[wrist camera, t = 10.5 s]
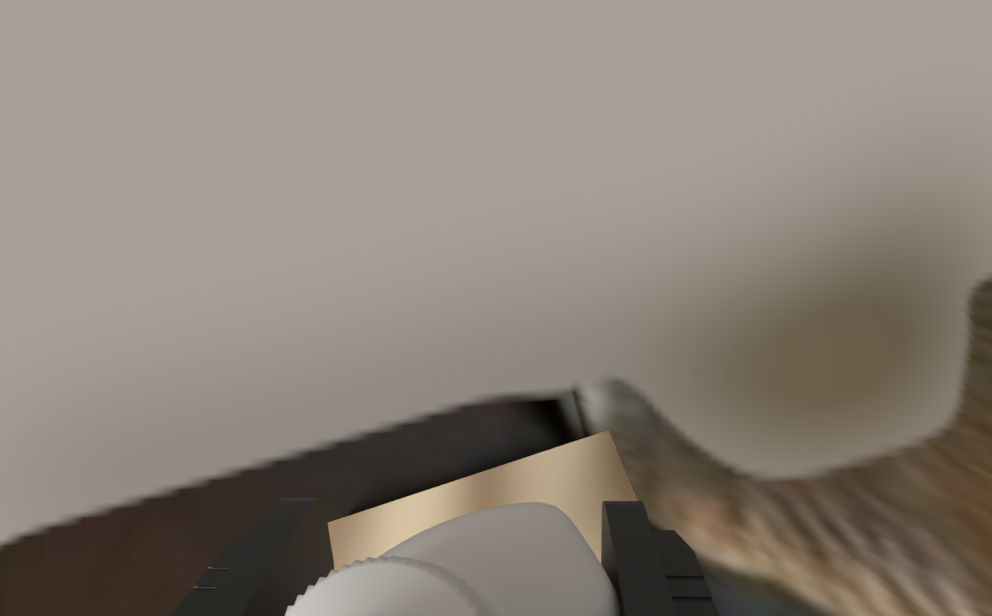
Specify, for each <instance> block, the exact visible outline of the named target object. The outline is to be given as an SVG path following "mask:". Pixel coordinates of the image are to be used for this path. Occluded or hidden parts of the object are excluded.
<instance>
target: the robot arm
mask: <svg viewBox="0 0 992 616" xmlns="http://www.w3.org/2000/svg"><path fill="white" fill-rule="evenodd" d="M601 565H602V567H603V568H604V570H605V572H606V573H607V575H608V577H609V579H610V580H611V582H612V584H613V586H614V587H615V589H616V591H617V595H618V598H619V603H620V609H621V616H719V614H718V611H717V609H716V606H715V604H714V603H713V601H712V596H711V593H710V591H709V588H708V586H707V583H706V581H704V576H703V573H702V570H701V568H700V565H699V563H698V560H697V558H696V555H695V553H694V551H693V550H692V549H691V548H690V547H689V546H688V545H687V543H686V542H685V541H684V540H683V539H682V538H681V537H680V536H679V535H678V534H677V533H676V532H675V531H674V530H651V527H650V523H649V520H648V517H647V513H646V510H645V507H644V504H643V502H642V501H603V502H602V529H601ZM331 570H334V559H333V553H332V547H331V541H330V535H329V529H328V523H327V517H326V511H325V506H324V503H323V501H322V500H321V499H319V498H283V499H280V500H279V501H278V502H277V503H276V505H275V506H274V507H273V509H272V510H271V511H270V513H269V514H268V515H267V517H266V518H265V520H264V521H263V522H262V524H261V525H251V526H250V527H248V528H247V529H246V530H244V531H243V532H242V533H240V534H239V535H238V536H236V537H235V538H234V539H233V540H231V541H230V542H229V543H227V544H226V545H225V546H224V548H223V549H222V550H221V552H220V553H219V554H218V555H217V557H216V558H215V559H214V560H213V562H212V563H211V564H210V566H209V569H208V571H205V572H204V573H203V574H202V576H201V577H200V578H199V580H198V581H197V582H196V583H195V585H194V589H193V591H189V592H188V594H187V595H186V596H185V597H184V599H183V600H182V601H181V603H180V604H179V605H178V606H177V608H176V609H175V610H174V611H173V613H172V614H171V615H170V616H285V613H286V610H287V607H288V606H294V604H295V601H296V599H297V596H298V595H304V594H305V592H306V590H307V588H308V586H309V585H316V583H317V581H318V579H319V577H327V576H328V574H329V573H330V571H331Z"/></svg>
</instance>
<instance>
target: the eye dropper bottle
mask: <svg viewBox="0 0 992 616" xmlns="http://www.w3.org/2000/svg"><path fill="white" fill-rule="evenodd" d="M285 616H621V609H620V603H619V598H618V595H617V591H616V589H615V587H614V586H613V584H612V582H611V580H610V579H609V577H608V575H607V573H606V572H605V570H604V568H603V567H602V565H601V564H600V562H599V560H598V559H597V557H596V556H595V554H594V552H593V551H592V549H591V548H590V546H589V545H588V543H587V542H586V540H585V539H584V537H583V536H582V534H581V533H580V531H579V530H578V529H577V527H576V526H575V525H574V523H573V522H572V520H571V519H570V518H569V517H568V516H567V515H566V514H565V513H563V512H562V511H561V510H560V509H559V508H557V507H556V506H554V505H550V504H545V503H541V502H527V503H515V504H509V505H502V506H497V507H493V508H488V509H484V510H480V511H476V512H473V513H469V514H466V515H462V516H459V517H457V518H454V519H451V520H448V521H445V522H443V523H440V524H438V525H436V526H433V527H431V528H429V529H426V530H424V531H422V532H420V533H418V534H416V535H414V536H412V537H410V538H409V539H407V540H405V541H403V542H401V543H400V544H398V545H396V546H395V547H393V548H391V549H390V550H388V551H387V552H385V553H384V554H382V555H380V556H379V557H378V558H371V557H367V558H366V559H365V560H364V561H360V560H355V561H354V562H353V563H352V564H351V565H346V564H343V565H342V567H341V568H340V569H339V571H338V570H331V571H330V573H329V574H328V576H327V577H319V579H318V581H317V583H316V585H309V586H308V588H307V590H306V592H305V594H304V595H298V596H297V599H296V601H295V604H294V606H288V607H287V610H286V613H285Z"/></svg>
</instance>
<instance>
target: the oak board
mask: <svg viewBox="0 0 992 616" xmlns="http://www.w3.org/2000/svg"><path fill="white" fill-rule="evenodd" d="M603 501H638V499H637V497H636V495H635V492H634V490H633V487H632V485H631V482H630V480H629V478H628V475H627V473H626V470H625V468H624V466H623V463H622V461H621V458H620V456H619V453H618V451H617V449H616V446H615V444H614V441H613V439H612V436H611V434H610V432H609V430H607V431H604V432H601V433H598V434H595V435H592V436H589V437H586V438H583V439H580V440H577V441H574V442H571V443H568V444H565V445H562V446H559V447H556V448H553V449H550V450H547V451H544V452H541V453H538V454H535V455H532V456H529V457H525V458H522V459H519V460H516V461H513V462H510V463H507V464H504V465H501V466H498V467H495V468H492V469H489V470H486V471H483V472H480V473H477V474H474V475H471V476H468V477H465V478H462V479H459V480H456V481H453V482H450V483H447V484H444V485H441V486H438V487H435V488H432V489H429V490H426V491H423V492H420V493H417V494H413V495H410V496H407V497H404V498H401V499H398V500H395V501H392V502H389V503H386V504H383V505H380V506H377V507H374V508H371V509H368V510H365V511H362V512H359V513H356V514H353V515H350V516H347V517H344V518H341V519H338V520H335V521H332V522H329V523H328V529H329V535H330V541H331V547H332V553H333V559H334V570H338V571H339V569H340V568H341V567H342V565H343V564H346V565H351V564H352V563H353V562H354V561H355V560H360V561H364V560H365V559H366V558H367V557H371V558H378V557H379V556H380V555H382V554H384V553H385V552H387V551H388V550H390V549H391V548H393V547H395V546H396V545H398V544H400V543H401V542H403V541H405V540H407V539H409V538H410V537H412V536H414V535H416V534H418V533H420V532H422V531H424V530H426V529H429V528H431V527H433V526H436V525H438V524H440V523H443V522H445V521H448V520H451V519H454V518H457V517H459V516H462V515H466V514H469V513H473V512H476V511H480V510H484V509H488V508H493V507H497V506H502V505H509V504H515V503H527V502H541V503H545V504H550V505H554V506H556V507H557V508H559V509H560V510H561V511H562V512H563V513H565V514H566V515H567V516H568V517H569V518H570V519H571V520H572V522H573V523H574V525H575V526H576V527H577V529H578V530H579V531H580V533H581V534H582V536H583V537H584V539H585V540H586V542H587V543H588V545H589V546H590V548H591V549H592V551H593V552H594V554H595V556H596V557H597V559H598V560H599V562H600V564H601V529H602V502H603Z"/></svg>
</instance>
